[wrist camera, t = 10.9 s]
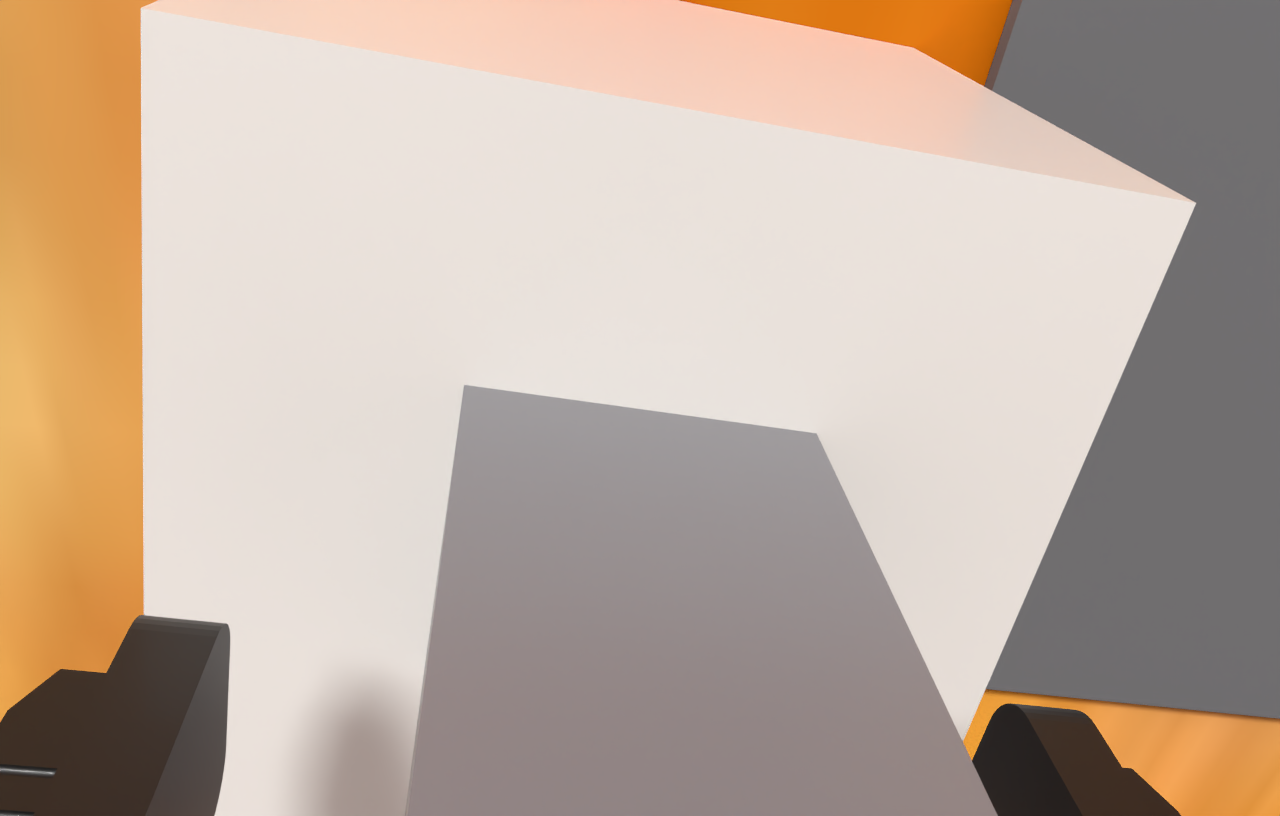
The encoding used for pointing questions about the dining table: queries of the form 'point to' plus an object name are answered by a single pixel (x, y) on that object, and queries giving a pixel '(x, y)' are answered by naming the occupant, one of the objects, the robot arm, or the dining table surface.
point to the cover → (610, 398)
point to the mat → (1169, 365)
